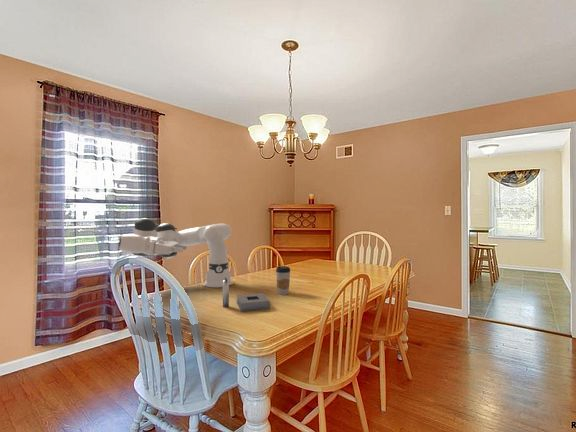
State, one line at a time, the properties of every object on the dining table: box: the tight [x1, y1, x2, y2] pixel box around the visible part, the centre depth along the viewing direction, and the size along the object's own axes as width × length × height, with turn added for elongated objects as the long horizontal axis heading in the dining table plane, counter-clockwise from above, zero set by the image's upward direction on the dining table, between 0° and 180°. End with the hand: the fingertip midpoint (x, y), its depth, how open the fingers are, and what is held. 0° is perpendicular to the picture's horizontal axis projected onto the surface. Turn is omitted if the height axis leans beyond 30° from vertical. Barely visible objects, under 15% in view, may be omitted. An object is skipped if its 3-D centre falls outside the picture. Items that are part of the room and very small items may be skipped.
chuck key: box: [222, 277, 230, 308], centre depth 154 cm, size 5×3×14 cm, turn 17°
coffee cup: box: [275, 265, 291, 296], centre depth 178 cm, size 8×8×15 cm
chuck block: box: [236, 293, 271, 313], centre depth 155 cm, size 14×14×4 cm
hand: (184, 248), depth 150 cm, fingers open, 8 cm apart
